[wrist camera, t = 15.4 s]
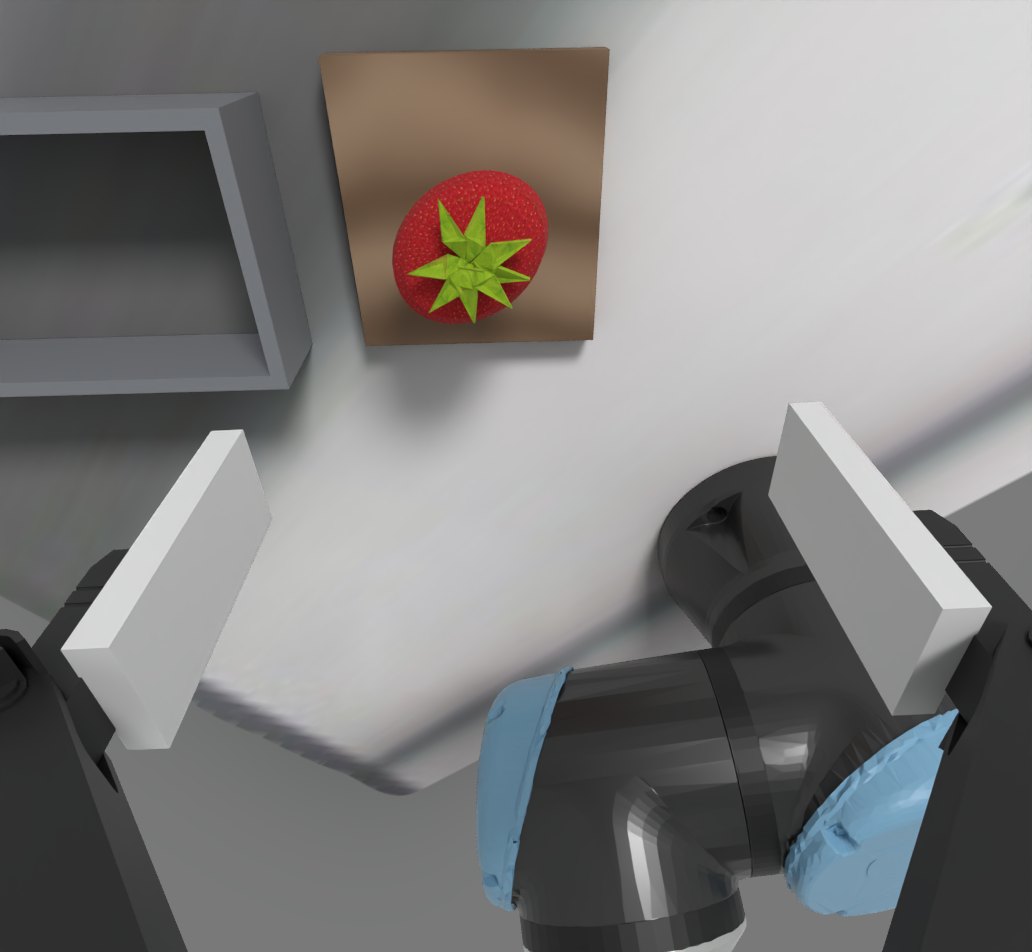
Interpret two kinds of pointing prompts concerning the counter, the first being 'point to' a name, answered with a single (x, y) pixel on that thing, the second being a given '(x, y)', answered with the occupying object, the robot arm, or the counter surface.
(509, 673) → the counter surface
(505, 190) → the strawberry
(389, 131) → the display board
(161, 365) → the crate
